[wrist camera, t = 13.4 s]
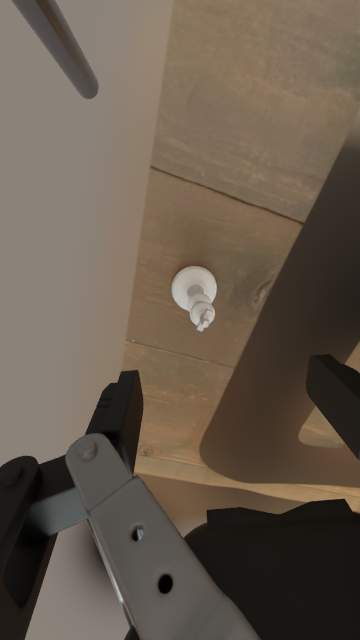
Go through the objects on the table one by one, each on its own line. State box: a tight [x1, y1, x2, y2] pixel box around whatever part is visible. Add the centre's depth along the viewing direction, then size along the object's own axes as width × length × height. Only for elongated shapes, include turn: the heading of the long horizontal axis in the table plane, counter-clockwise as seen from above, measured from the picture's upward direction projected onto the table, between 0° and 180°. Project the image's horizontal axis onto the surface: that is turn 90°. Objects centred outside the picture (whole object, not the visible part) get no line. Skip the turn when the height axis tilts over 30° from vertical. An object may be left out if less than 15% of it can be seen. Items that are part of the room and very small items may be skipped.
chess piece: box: [171, 266, 217, 331], centre depth 22 cm, size 5×5×10 cm
